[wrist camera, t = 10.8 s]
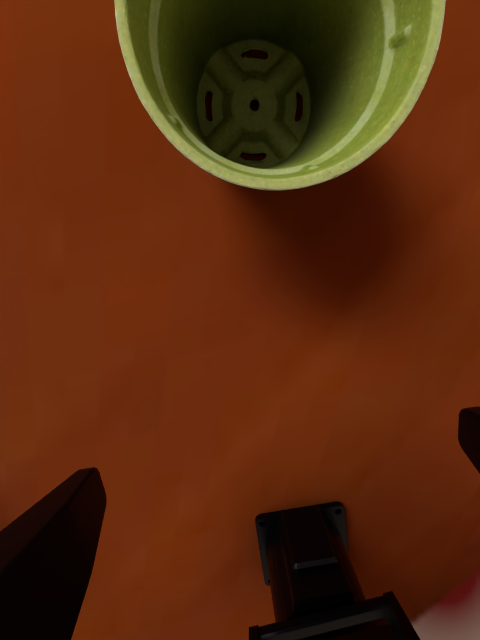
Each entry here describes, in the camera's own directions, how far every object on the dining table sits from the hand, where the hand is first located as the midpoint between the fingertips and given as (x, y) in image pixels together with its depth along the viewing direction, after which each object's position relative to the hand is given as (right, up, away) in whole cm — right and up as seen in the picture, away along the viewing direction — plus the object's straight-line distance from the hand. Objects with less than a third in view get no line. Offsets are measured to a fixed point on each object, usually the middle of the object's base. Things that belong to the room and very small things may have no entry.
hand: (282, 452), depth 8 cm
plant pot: (0, +14, +10) cm, 17 cm away
